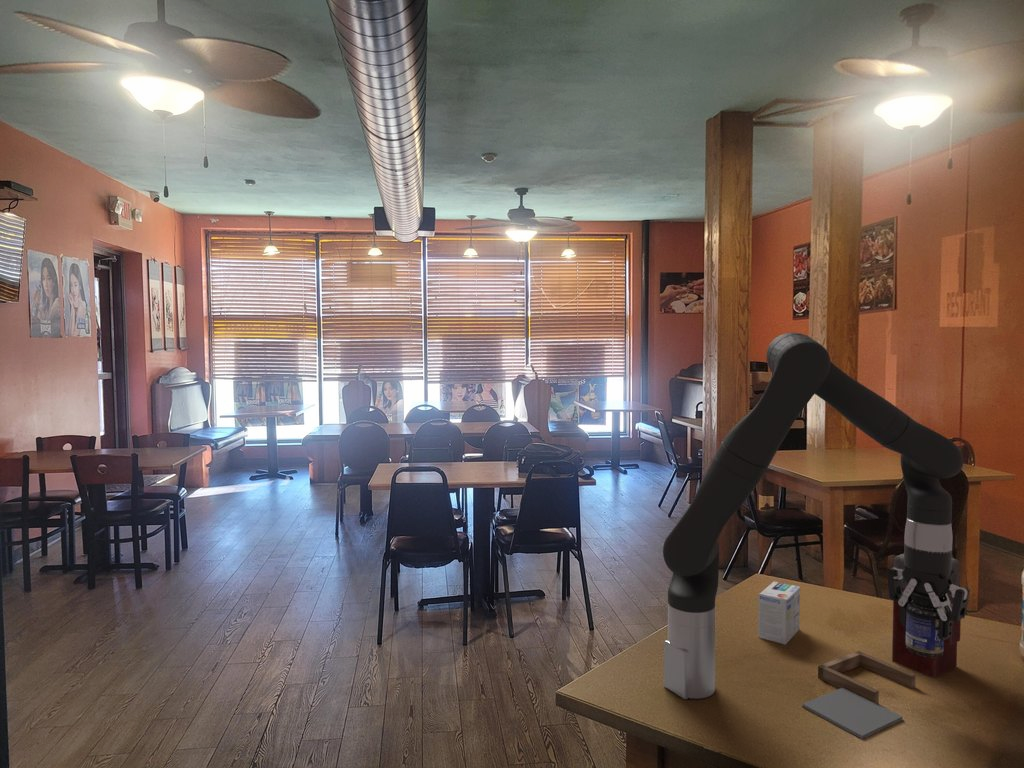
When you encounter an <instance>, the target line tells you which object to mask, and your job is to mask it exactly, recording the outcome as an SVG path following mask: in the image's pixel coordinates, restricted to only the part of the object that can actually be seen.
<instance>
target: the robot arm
mask: <svg viewBox="0 0 1024 768" xmlns="http://www.w3.org/2000/svg"><path fill="white" fill-rule="evenodd" d="M766 349H767V350H766V362H767V363H766V364H767V367H768V368H769V371H770V372H771V373H772V376H771V378H770V379H769V382H768V385H767V386H766V388H765V389H764V391H763V394H762V396H761V397H760V399H759V401H758V402H757V403H756V405H755V406H754V407H753V408H752V410H750V412H747V414H746V415H745V416H744V417H743V418H742V419H741V420H740V421H738V422H737V423H736V424H735V425H734V426H733V427H732V428H731V429H730V430H729V431H728V433H727V434H726V436H725V437H724V438H723V441H722V442H721V444H720V446H719V447H718V449H717V451H716V452H715V455H714V456H713V458H712V461H711V462H710V463H709V464H710V465H708V468H707V470H706V472H705V473H704V476H703V479H702V480H701V481H700V484H699V486H698V488H697V491H696V493H695V495H694V498H693V500H692V501H691V503H690V505H689V506H688V508H687V510H686V511H685V512H684V514H683V515H682V516H681V518H680V520H679V521H678V522H677V524H676V525H675V526H674V527H673V529H672V530H671V531H670V533H669V534H668V535H667V536H666V538H665V541H664V542H663V547H662V555H663V560H664V564H665V565H666V566H667V568H668V569H669V570H670V571H671V572H672V577H671V581H670V583H669V586H668V589H667V639H666V640H664V641H663V687H665V688H666V689H668V690H669V691H671V692H672V693H673V694H675V695H677V696H679V697H680V698H682V699H683V700H688V698H689V699H706V698H709V697H711V696H712V695H713V694H715V691H716V599H717V598H716V597H717V593H718V589H719V578H720V577H719V575H720V571H719V570H720V569H719V568H720V548H719V547H720V545H719V542H718V541H719V540H718V539H719V537H720V535H721V533H722V532H723V529H724V528H725V527H726V524H727V523H728V521H730V519H731V518H732V517H733V515H735V513H737V511H738V510H739V508H741V506H743V504H744V502H745V501H746V500H747V499H748V498H749V496H751V494H752V493H753V491H754V490H755V488H757V486H758V484H759V483H760V481H761V479H763V476H764V475H765V473H766V471H767V469H768V467H769V466H770V464H771V462H772V461H773V459H774V458H775V455H776V454H777V452H778V450H779V448H780V447H781V445H782V444H783V441H784V440H785V438H786V436H787V435H788V433H789V432H790V430H791V428H792V425H794V423H795V421H796V419H797V418H798V416H800V414H801V413H802V411H803V410H804V409H805V407H806V406H807V405H808V404H809V402H810V401H811V399H812V398H813V397H814V395H816V396H817V397H818V398H820V399H821V400H823V401H824V402H825V403H827V404H828V405H830V406H831V407H832V408H833V409H834V410H836V412H838V413H839V414H841V415H842V416H843V417H844V418H845V419H846V420H847V421H848V422H850V423H851V424H852V425H854V426H855V427H856V428H857V429H859V430H860V431H861V432H862V433H864V434H865V435H867V436H868V437H869V438H871V439H872V440H873V441H875V442H877V443H878V444H879V445H881V446H882V447H884V448H885V449H887V450H890V451H893V452H895V453H898V454H900V467H901V472H902V477H903V482H904V485H905V490H906V493H907V504H906V505H907V509H906V511H907V512H906V522H905V526H904V527H905V528H904V536H903V537H904V545H903V546H904V548H903V549H904V550H903V551H904V552H903V554H904V565H905V567H904V569H903V570H902V569H899V568H898V567H894V566H893V567H890V568H889V569H887V570H886V573H887V574H886V575H887V577H886V578H887V584H888V585H887V588H888V595H889V599H890V600H891V601H893V600H895V601H896V602H898V604H899V605H900V617H899V619H900V622H902V625H903V626H905V627H906V612H907V605H908V604H909V603H910V602H913V600H912V598H911V594H912V592H915V593H918V594H922V595H925V596H928V597H930V599H931V601H932V604H933V606H934V607H935V608H936V609H937V611H938V614H939V616H940V618H941V619H940V620H939V639H941V640H946V639H948V638H949V637H951V635H952V625H953V621H958V620H960V619H961V620H962V619H965V618H966V614H967V613H966V612H967V607H968V603H969V599H970V598H969V597H970V593H971V591H970V589H969V588H968V587H967V586H964V587H961V586H959V587H958V586H956V585H954V584H953V583H952V581H951V579H950V574H951V564H952V558H953V529H952V519H953V516H952V515H953V499H952V495H951V494H950V493H949V492H948V491H947V490H946V489H944V488H943V487H942V485H941V483H940V479H949V478H952V477H955V476H956V475H958V474H959V473H960V472H961V470H963V466H964V456H963V453H962V451H961V449H960V448H959V446H957V445H956V443H954V442H953V441H952V440H951V439H949V438H947V437H946V436H944V435H942V434H940V433H938V432H937V431H935V430H933V429H931V428H929V427H928V426H926V425H923V424H921V423H920V422H917V421H916V420H914V419H913V418H912V417H911V416H910V415H908V414H907V413H905V412H904V411H902V410H901V409H900V408H899V407H897V406H895V405H894V404H893V403H892V402H890V401H888V400H887V399H886V398H884V397H882V396H881V395H879V394H878V393H876V392H875V391H873V390H872V389H870V388H868V387H866V386H865V385H864V384H862V383H860V382H859V381H857V380H856V379H854V378H853V377H851V376H850V375H848V374H847V373H846V372H845V371H843V370H842V369H840V368H839V367H838V366H837V365H836V364H834V363H833V362H832V360H831V357H830V354H829V352H828V350H827V349H826V347H824V346H823V345H822V344H821V343H819V342H818V341H816V340H815V339H813V338H812V337H810V336H808V335H807V334H804V333H801V332H786V333H783V334H781V335H778V336H777V337H775V338H774V339H773V340H772V341H771V342H770V344H768V347H767V348H766ZM902 578H904V579H905V581H906V583H907V585H908V586H907V587H906V589H905V590H904V592H903V593H902V583H901V579H902ZM949 590H950V591H951V592H952V597H953V598H954V601H953V606H952V609H951V606H950V604H951V603H950V600H949V598H948V595H947V592H948V591H949ZM940 598H941V602H940V600H939V599H940Z"/></svg>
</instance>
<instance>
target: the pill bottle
mask: <svg viewBox="0 0 1024 768" xmlns="http://www.w3.org/2000/svg"><path fill="white" fill-rule="evenodd" d="M911 598H912V600H913V602H910V603H909V604H908V605H907V612H906V647H907V649H908V650H909V651H911V652H912V653H915V654H917V655H920V656H924V657H930V658H936V657H940V656H942V655H943V652H944V640H941V639H939V620H940V619H941V618H940V616H939V614H938V611H937V609H936V608H935V607H934V606H933V604H932V601H931V599H930V597H928V596H925V595H922V594H918V593H915V592H912V594H911ZM939 600H940V602H941V598H940V599H939Z"/></svg>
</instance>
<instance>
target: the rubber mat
mask: <svg viewBox="0 0 1024 768" xmlns="http://www.w3.org/2000/svg"><path fill="white" fill-rule="evenodd" d="M802 708H803V709H806V710H807V711H809V712H811V713H812V714H815V715H817V716H818V717H820V718H822V719H824V720H826V721H828V722H830V723H831V724H833V725H835V726H838V727H839V728H841V729H843V730H845V732H847V733H850V734H851V735H854V736H855V737H857V738H860V740H863V739H865V738H868V737H869V736H871V735H873V734H876V733H878V732H879V731H882V730H885V729H886V728H888V727H890V726H892V725H894V724H897V723H899V722H900V721H902V720H903V715H901V714H899V713H897V712H894V711H892V710H890V709H888V708H886V707H884V706H883V705H882V706H881V705H880V704H879V703H878V704H876V703H874V702H872V701H869V700H867V699H865V698H863V697H861V696H859V695H857V694H855V693H853V692H851V691H849V690H847V689H845V688H837V689H835V690H833V691H831V692H828V693H826V694H823V695H821V696H819V697H816V698H814V699H813V698H812V699H811V700H809V701H808V700H807V701H806V702H804V703H802Z"/></svg>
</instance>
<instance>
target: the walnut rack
mask: <svg viewBox="0 0 1024 768" xmlns="http://www.w3.org/2000/svg"><path fill="white" fill-rule="evenodd" d="M858 667H863V668H864V669H866V670H869V671H872V672H874V673H875V674H878V675H880V676H883V677H884V678H887V679H890V680H892V681H894V682H895V683H898V684H901V685H903V686H906V687H907V688H910V689H913V688H916V686H917V685H916V680H917V676H916V674H915V673H912V672H910V671H908V670H905V669H903V668H901V667H898V666H895V665H893V664H891V663H888V662H886V661H884V660H881V659H880V658H876V657H874V656H871V655H869V654H867V653H864V652H862V651H860V650H857V651H854V652H852V653H850V654H847V655H844V656H841V657H838V658H836V659H833V660H829V661H828V662H825V663H823V664H820V665H818V666H817V678H818V679H820V680H822V681H823V682H826V683H828V684H830V685H832V686H834V687H836V688H837V689H840V688H845V689H847V690H849V691H851V692H853V693H855V694H857V695H859V696H861V697H863V698H865V699H867V700H869V701H872V702H874V703H876V704H878V705H879V700H880V699H879V693H880V692H879V690H878V689H876V688H874V687H872V686H869V685H868V684H864V683H863V682H860V681H859V680H857V679H854V678H852V677H850V676H849V675H846V674H843V673H846V672H847V671H848V672H849V671H850V670H852V669H856V668H858Z"/></svg>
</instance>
